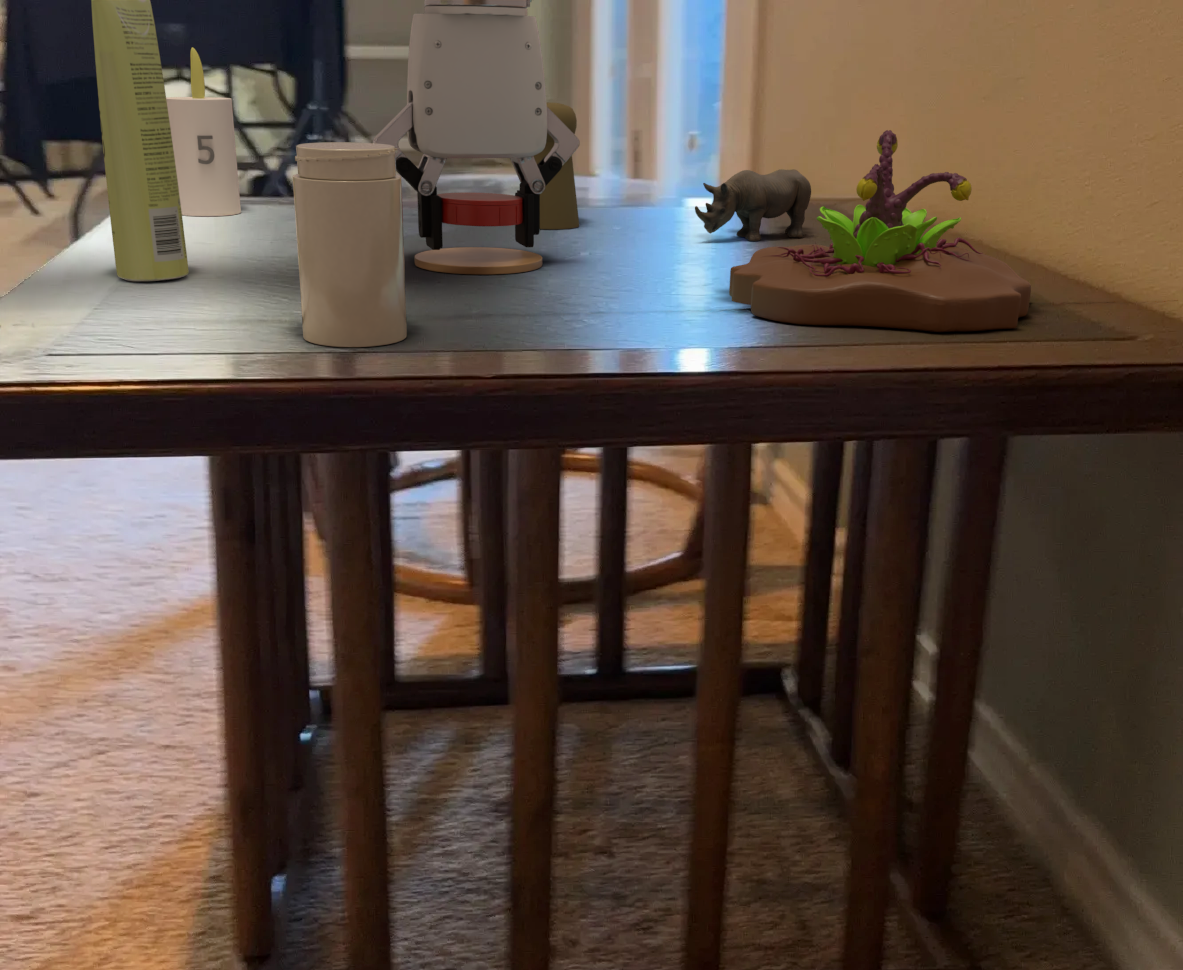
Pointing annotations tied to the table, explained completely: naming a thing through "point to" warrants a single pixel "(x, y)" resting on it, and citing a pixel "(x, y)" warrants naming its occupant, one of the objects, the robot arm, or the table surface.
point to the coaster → (478, 260)
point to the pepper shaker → (559, 181)
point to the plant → (884, 268)
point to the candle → (204, 149)
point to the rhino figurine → (758, 201)
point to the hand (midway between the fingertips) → (479, 244)
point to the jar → (350, 244)
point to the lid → (481, 209)
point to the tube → (137, 143)
